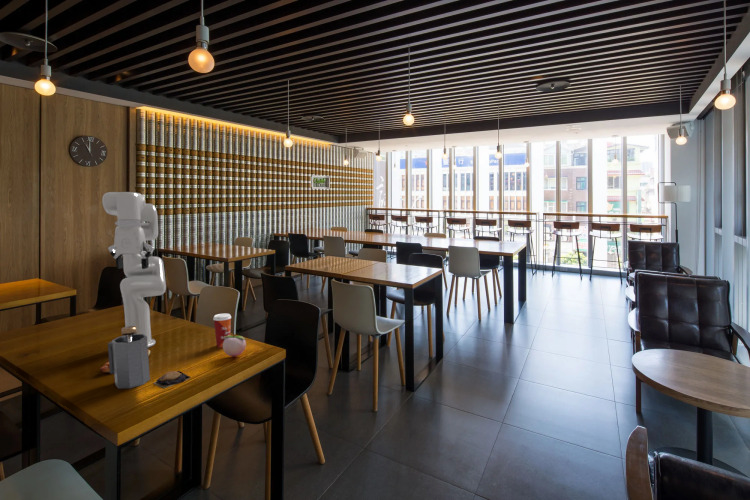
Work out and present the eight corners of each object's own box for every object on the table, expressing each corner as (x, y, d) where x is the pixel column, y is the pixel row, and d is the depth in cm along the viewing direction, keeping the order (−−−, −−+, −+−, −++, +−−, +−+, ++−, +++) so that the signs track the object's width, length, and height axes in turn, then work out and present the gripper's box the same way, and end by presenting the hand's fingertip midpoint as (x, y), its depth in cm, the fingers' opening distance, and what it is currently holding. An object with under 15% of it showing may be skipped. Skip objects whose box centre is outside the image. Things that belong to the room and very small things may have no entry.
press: (102, 388, 133) (99, 343, 131) (121, 376, 143) (118, 334, 141) (138, 388, 133) (135, 343, 131) (154, 376, 143) (151, 334, 141)
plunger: (114, 382, 134) (110, 331, 132) (128, 373, 142) (125, 324, 140) (136, 382, 134) (133, 331, 132) (149, 373, 142) (146, 324, 140)
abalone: (163, 391, 133) (163, 380, 132) (151, 384, 137) (151, 374, 137) (193, 379, 141) (192, 369, 141) (181, 373, 146) (180, 364, 146)
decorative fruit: (219, 361, 156) (218, 337, 155) (225, 354, 165) (224, 331, 163) (243, 360, 157) (242, 336, 156) (248, 353, 165) (247, 330, 164)
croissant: (144, 362, 165) (136, 345, 165) (161, 353, 162) (153, 336, 162) (97, 383, 144) (88, 363, 145) (115, 373, 142) (105, 353, 142)
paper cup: (226, 349, 170) (224, 318, 169) (210, 347, 172) (209, 317, 170) (236, 343, 178) (234, 313, 176) (221, 342, 179) (219, 312, 178)
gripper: (100, 225, 145) (103, 270, 147) (146, 224, 145) (149, 270, 147) (113, 224, 153) (116, 267, 155) (157, 224, 153) (160, 267, 155)
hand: (132, 268), depth 151 cm, fingers open, 9 cm apart
